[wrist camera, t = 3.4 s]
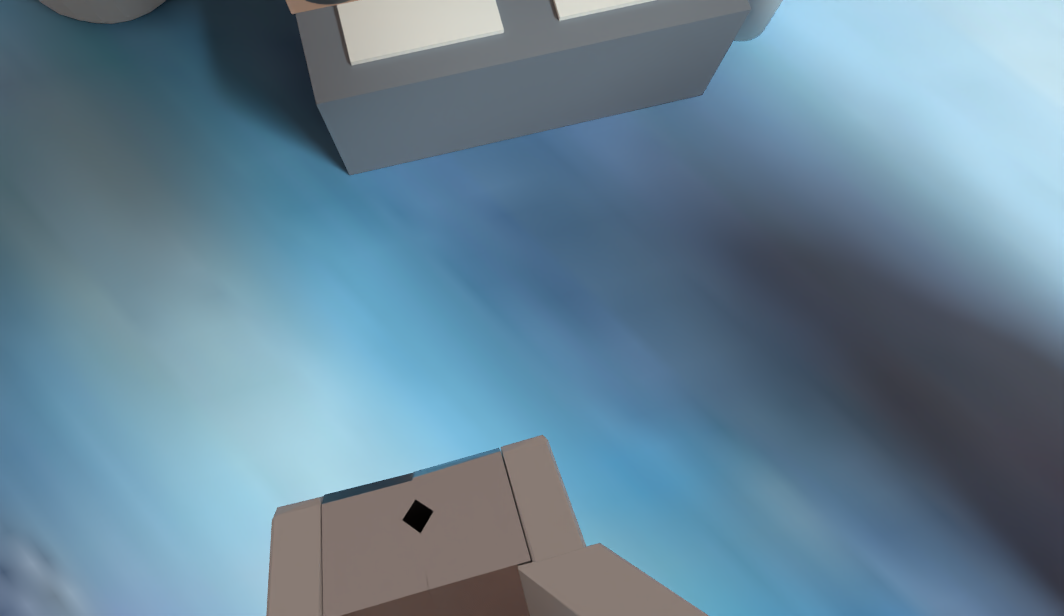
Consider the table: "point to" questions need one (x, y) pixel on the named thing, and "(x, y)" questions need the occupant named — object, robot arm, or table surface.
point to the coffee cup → (103, 9)
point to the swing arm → (312, 4)
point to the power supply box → (505, 66)
